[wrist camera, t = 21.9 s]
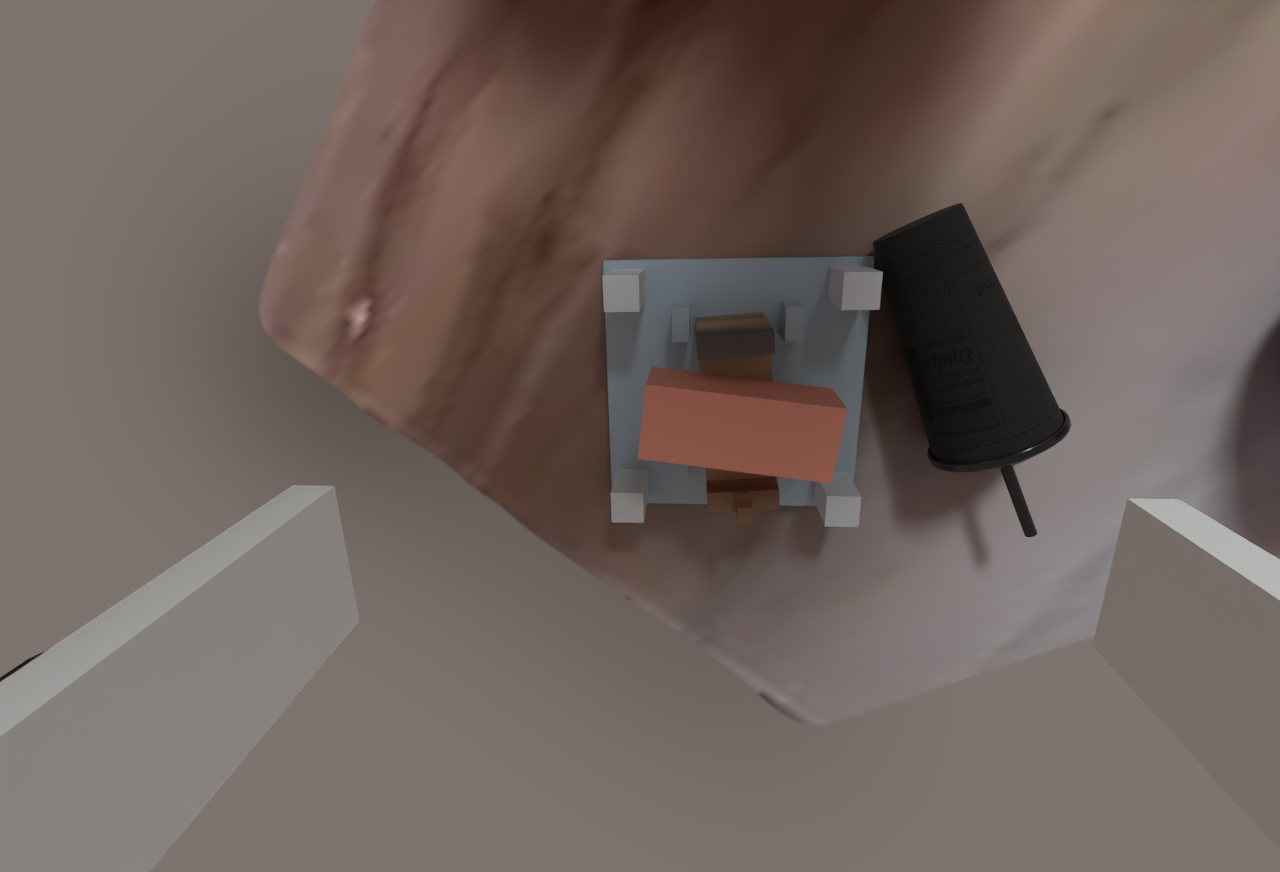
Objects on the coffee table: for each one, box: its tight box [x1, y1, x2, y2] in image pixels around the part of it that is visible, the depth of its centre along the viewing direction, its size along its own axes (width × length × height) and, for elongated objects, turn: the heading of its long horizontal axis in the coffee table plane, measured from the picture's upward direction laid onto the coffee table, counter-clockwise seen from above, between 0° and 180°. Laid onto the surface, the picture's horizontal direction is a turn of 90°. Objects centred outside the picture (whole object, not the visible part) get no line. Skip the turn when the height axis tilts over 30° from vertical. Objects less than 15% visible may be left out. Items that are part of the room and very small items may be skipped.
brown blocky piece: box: [696, 312, 780, 526], centre depth 38 cm, size 10×4×9 cm, turn 5°
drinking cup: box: [873, 203, 1071, 537], centre depth 38 cm, size 8×8×20 cm
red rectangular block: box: [638, 367, 848, 484], centre depth 35 cm, size 10×4×4 cm, turn 84°
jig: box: [602, 256, 883, 527], centre depth 40 cm, size 16×16×5 cm
